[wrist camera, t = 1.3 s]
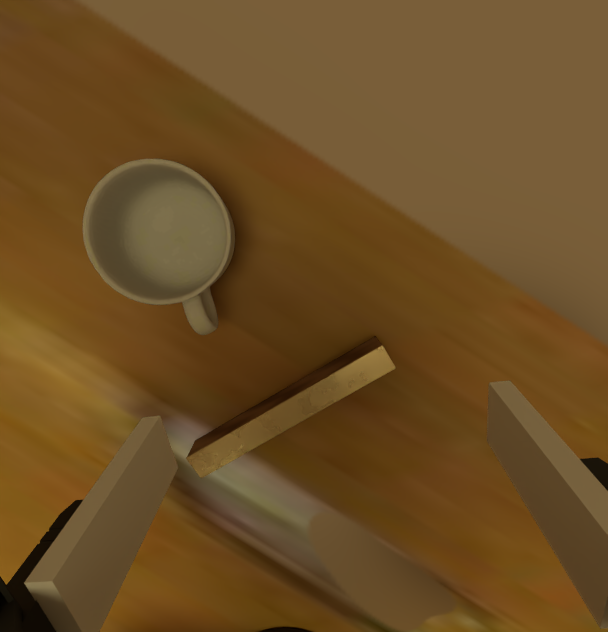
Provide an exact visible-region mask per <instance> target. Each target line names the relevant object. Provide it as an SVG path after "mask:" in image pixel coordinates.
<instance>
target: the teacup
mask: <svg viewBox="0 0 608 632" xmlns="http://www.w3.org/2000/svg"><path fill="white" fill-rule="evenodd" d="M83 239H84V243H85V247H86V250H87V253H88V256H89V259H90V261H91V263H92V264H93V266H94V268H95V269H96V270H97V271H98V273H99V274H100V275H101V277H102V278H103V280H105V281H106V282H107V284H109V285H110V286H111V287H112V288H113V289H114V290H116V291H117V292H119V293H121V294H122V295H124V296H126V297H128V298H130V299H132V300H135V301H138V302H142V303H146V304H152V305H167V304H174V303H179V302H182V303H183V307H184V311H185V314H186V317H187V319H188V321H189V323H190V325H191V327H192V328H193V329H194V331H195V332H197V333H198V334H200V335H207V334H209V333H211V332H213V331H215V330H216V329H217V327H218V316H217V312H216V308H215V304H214V301H213V298H212V295H211V290H210V286H211V285H212V284H213V283H215V282H216V281H217V280H218V279H219V278H220V277H221V276H222V274H223V273H224V272H225V270H226V269H227V267H228V265H229V263H230V261H231V259H232V256H233V252H234V247H235V230H234V224H233V221H232V218H231V215H230V213H229V210H228V209H227V207H226V205H225V203H224V202H223V200H222V199H221V197H220V196H219V195H218V193H217V192H216V190H215V189H214V188H213V187H212V186H211V184H210V183H209V182H208V181H207V180H206V179H204V178H203V177H202V176H201V175H200V174H198V173H197V172H195V171H194V170H192V169H190V168H188V167H187V166H185V165H182V164H180V163H177V162H174V161H169V160H164V159H141V160H135V161H131V162H127V163H125V164H123V165H121V166H119V167H117V168H115V169H114V170H112V171H111V172H109V173H108V174H107V175H106V176H104V177H103V178H102V179H101V180H100V181H99V182H98V184H97V185H96V186H95V188H94V190H93V191H92V193H91V195H90V197H89V199H88V201H87V205H86V207H85V211H84V217H83Z"/></svg>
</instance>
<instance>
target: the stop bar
mask: <svg viewBox="0 0 608 632" xmlns="http://www.w3.org/2000/svg"><path fill="white" fill-rule="evenodd" d="M393 369H395V366H394V364H393V362H392V361H391V359H390V357H389V356H388V354H387V352H386V350H385V349H384V347H383V345H382V344H381V343H380V342H379V340H378V339H377V338H376V336H375V337H373V338H372V339H370V340H368V341H367V342H365V343H363V344H361V345H360V346H358V347H356V348H354V349H353V350H351V351H349V352H348V353H346V354H344V355H342V356H341V357H339V358H337V359H335V360H334V361H332V362H330V363H329V364H327V365H325V366H323V367H322V368H320V369H318V370H316V371H315V372H313V373H311V374H310V375H308V376H306V377H304V378H303V379H301V380H299V381H297V382H296V383H294V384H292V385H291V386H289V387H287V388H285V389H284V390H282V391H280V392H278V393H277V394H275V395H273V396H272V397H270V398H268V399H266V400H265V401H263V402H261V403H260V404H258V405H256V406H254V407H253V408H251V409H249V410H247V411H246V412H244V413H242V414H241V415H239V416H237V417H235V418H234V419H232V420H230V421H228V422H227V423H225V424H223V425H222V426H220V427H218V428H216V429H215V430H213V431H211V432H209V433H208V434H206V435H204V436H203V437H201V438H199V439H197V440H196V441H195V442H194V444H193V446H192V448H191V450H190V452H189V454H188V456H187V457H186V459H187V460H188V462H189V463H190V464H191V466H192V467H193V468H194V470H195V471H196V472H197V474H198V475H199V476H200V478H203V477H204V476H206V475H208V474H210V473H211V472H213V471H215V470H217V469H219V468H220V467H222V466H224V465H226V464H227V463H229V462H231V461H233V460H234V459H236V458H238V457H240V456H241V455H243V454H245V453H247V452H249V451H250V450H252V449H254V448H256V447H257V446H259V445H261V444H263V443H264V442H266V441H268V440H270V439H271V438H273V437H275V436H277V435H279V434H280V433H282V432H284V431H286V430H287V429H289V428H291V427H293V426H294V425H296V424H298V423H300V422H301V421H303V420H305V419H307V418H309V417H310V416H312V415H314V414H316V413H317V412H319V411H321V410H323V409H324V408H326V407H328V406H330V405H331V404H333V403H335V402H337V401H339V400H340V399H342V398H344V397H346V396H347V395H349V394H351V393H353V392H354V391H356V390H358V389H360V388H361V387H363V386H365V385H367V384H369V383H370V382H372V381H374V380H376V379H377V378H379V377H381V376H383V375H384V374H386V373H388V372H390V371H391V370H393Z"/></svg>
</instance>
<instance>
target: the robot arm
mask: <svg viewBox="0 0 608 632" xmlns="http://www.w3.org/2000/svg"><path fill="white" fill-rule="evenodd" d="M487 442H488V444H489V445H490V447H491V449H492V450H493V452H494V454H495V455H496V457H497V458H498V460H499V462H500V463H501V465H502V467H503V468H504V470H505V472H506V473H507V475H508V477H509V478H510V480H511V482H512V483H513V485H514V487H515V488H516V490H517V492H518V493H519V495H520V496H521V498H522V500H523V501H524V503H525V505H526V506H527V508H528V510H529V511H530V513H531V515H532V516H533V518H534V520H535V521H536V523H537V525H538V526H539V528H540V530H541V531H542V533H543V535H544V536H545V538H546V539H547V541H548V543H549V544H550V546H551V548H552V549H553V551H554V553H555V554H556V556H557V558H558V559H559V561H560V563H561V564H562V566H563V568H564V569H565V571H566V573H567V574H568V576H569V578H570V579H571V581H572V582H573V584H574V586H575V587H576V589H577V591H578V592H579V594H580V596H581V597H582V599H583V601H584V602H585V604H586V606H587V607H588V609H589V611H590V612H591V614H592V616H593V617H594V619H595V620H596V622H597V624H598V625H599V627H600V628H608V464H607V463H606V462H604V461H603V460H601V459H599V458H587V459H579V458H578V457H577V456H576V455H575V454H574V452H573V451H572V450H571V449H570V448H569V447H568V446H567V445H566V443H565V442H564V441H563V440H562V439H561V438H560V437H559V435H558V434H557V433H556V432H555V431H554V430H553V429H552V428H551V426H550V425H549V424H548V423H547V422H546V421H545V420H544V419H543V417H542V416H541V415H540V414H539V413H538V412H537V411H536V409H535V408H534V407H533V406H532V405H531V404H530V403H529V402H528V400H527V399H526V398H525V397H524V396H523V395H522V394H521V393H520V391H519V390H518V389H517V388H516V387H515V386H514V385H513V384H512V382H511V381H501V382H491V383H489V395H488V423H487ZM177 469H178V466H177V463H176V460H175V457H174V454H173V451H172V448H171V446H170V443H169V440H168V437H167V434H166V431H165V428H164V425H163V423H162V420H161V417H160V416H153V417H143V418H142V419H141V420H140V422H139V423H138V425H137V426H136V427H135V429H134V430H133V432H132V433H131V434H130V436H129V437H128V439H127V440H126V441H125V443H124V444H123V446H122V447H121V448H120V450H119V451H118V453H117V454H116V455H115V457H114V458H113V459H112V461H111V462H110V464H109V465H108V466H107V468H106V469H105V471H104V472H103V473H102V475H101V476H100V478H99V479H98V480H97V482H96V483H95V485H94V486H93V487H92V489H91V490H90V492H89V493H88V494H87V496H86V497H85V499H84V500H76V501H75V502H73V503H72V504H71V505H70V506H69V507H68V508H66V509H65V510H64V511H63V512H62V513H61V514H60V515H59V516H58V518H57V519H56V520H55V522H54V523H53V524H52V526H51V527H50V528H49V532H46V534H45V535H44V536H43V538H42V539H41V540H40V544H37V546H36V547H35V548H34V550H33V551H32V552H31V553H30V555H29V556H28V557H27V559H26V560H25V561H24V563H23V564H22V565H21V567H20V568H19V569H18V571H17V572H16V573H15V575H14V576H13V577H12V579H11V580H10V581H9V583H8V584H7V585H6V584H5V583H4V581H3V580H2V578H1V577H0V632H99V631H100V629H101V627H102V625H103V623H104V621H105V619H106V617H107V615H108V613H109V611H110V608H111V606H112V604H113V602H114V600H115V598H116V596H117V594H118V592H119V590H120V588H121V586H122V583H123V581H124V579H125V577H126V575H127V573H128V571H129V569H130V567H131V565H132V563H133V561H134V558H135V556H136V554H137V552H138V550H139V548H140V546H141V544H142V542H143V540H144V538H145V535H146V533H147V531H148V529H149V527H150V525H151V523H152V521H153V519H154V517H155V515H156V513H157V510H158V508H159V506H160V504H161V502H162V500H163V498H164V496H165V494H166V492H167V490H168V487H169V485H170V483H171V481H172V479H173V477H174V475H175V473H176V471H177ZM263 632H307V631H303V630H299V629H291V628H280V629H272V630H267V631H263Z"/></svg>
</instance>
